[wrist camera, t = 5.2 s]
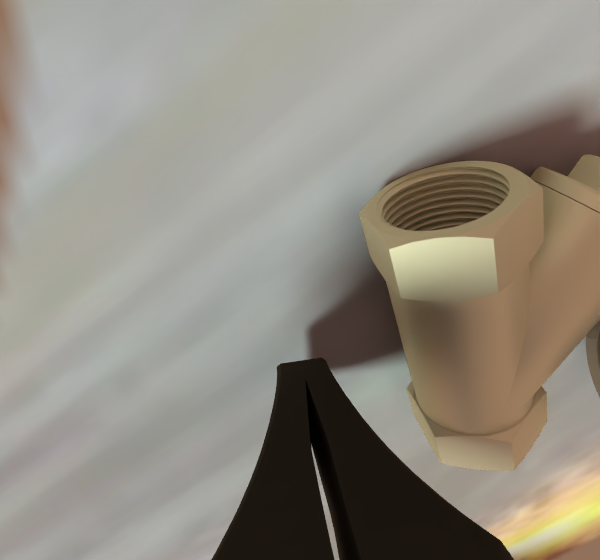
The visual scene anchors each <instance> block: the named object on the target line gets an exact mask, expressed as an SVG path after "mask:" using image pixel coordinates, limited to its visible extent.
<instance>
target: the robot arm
mask: <svg viewBox="0 0 600 560" xmlns="http://www.w3.org/2000/svg"><path fill="white" fill-rule="evenodd" d="M311 444H312V448H313V451H314V455H315V459H316V463H317V466H318V470H319V474H320V477H321V481H322V485H323V488H324V492H325V496H326V499H327V503H328V507H329V510H330V514H331V518H332V523H333V527H334V532H335V537H336V543H337V548H338V554H339V559H340V560H514V559H513V557H512V556H511V555H510V553H509V552H508V550H507V549H506V547H505V546H504V545H503V543H502V542H501V541H500V540H499V539H498V538H496V537H495V536H493V535H492V534H490V533H489V532H487V531H486V530H485V529H483V528H482V527H480V526H479V525H477V524H476V523H475V522H473V521H472V520H471V519H469V518H468V517H467V516H465V515H464V514H463V513H461V512H460V511H459V510H457V509H456V508H455V507H454V506H452V505H451V504H450V503H448V502H447V501H446V500H445V499H443V498H442V497H441V496H440V495H439V494H438V493H436V492H435V491H434V490H433V489H432V488H431V487H429V486H428V485H427V484H426V483H425V482H424V481H422V480H421V479H420V478H419V477H418V476H417V475H416V474H414V473H413V472H412V471H411V470H410V469H409V468H408V467H407V466H406V465H405V464H404V463H403V462H402V461H401V460H400V459H399V458H398V457H397V456H396V455H395V454H394V453H393V452H392V451H391V450H390V449H389V448H388V447H387V446H386V445H385V443H384V442H383V441H382V440H381V439H380V438H379V437H378V436H377V434H376V433H375V432H374V431H373V430H372V429H371V427H370V426H369V425H368V424H367V423H366V421H365V420H364V419H363V418H362V416H361V415H360V414H359V412H358V411H357V410H356V408H355V407H354V406H353V404H352V403H351V402H350V400H349V399H348V397H347V396H346V395H345V393H344V392H343V390H342V389H341V387H340V386H339V384H338V382H337V381H336V379H335V378H334V376H333V374H332V372H331V371H330V369H329V367H328V365H327V363H326V360H324V359H323V358H317V359H310V360H303V361H296V362H289V363H282V364H280V365H279V366H278V367H277V386H276V393H275V399H274V405H273V409H272V414H271V418H270V422H269V426H268V430H267V433H266V436H265V440H264V443H263V447H262V450H261V453H260V456H259V459H258V462H257V464H256V467H255V470H254V472H253V475H252V478H251V480H250V483H249V485H248V487H247V490H246V492H245V494H244V497H243V499H242V501H241V503H240V506H239V508H238V510H237V512H236V514H235V516H234V518H233V520H232V522H231V524H230V526H229V528H228V530H227V532H226V534H225V536H224V538H223V539H222V541H221V543H220V545H219V547H218V549H217V551H216V553H215V554H214V556H213V558H212V560H334V556H333V552H332V547H331V543H330V538H329V534H328V529H327V524H326V520H325V515H324V510H323V505H322V501H321V496H320V491H319V486H318V481H317V476H316V471H315V466H314V461H313V456H312V450H311Z"/></svg>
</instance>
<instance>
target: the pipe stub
mask: <svg viewBox="0 0 600 560" xmlns="http://www.w3.org/2000/svg"><path fill="white" fill-rule="evenodd" d="M586 352H587V360H588V365H589V369H590V373H591V376H592V380H593V383H594V385H595V387H596V390H597V392H598V394H599V396H600V320H599V321H598V322H597V323H596V325H595V326H594V327H593V328H592V329H591V330H590V331H589V332H588V334H587V335H586Z"/></svg>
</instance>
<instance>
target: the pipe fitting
mask: <svg viewBox="0 0 600 560" xmlns="http://www.w3.org/2000/svg"><path fill="white" fill-rule="evenodd" d="M359 217H360V220H361V224H362V228H363V231H364V235H365V239H366V242H367V246H368V250H369V253H370V257H371V259H372V261H373V262H374V264H375V265H376V267H377V269H378V270H379V272H380V273H381V275H382V276H383V278H384V279H385V281H386V283H387V287H388V291H389V295H390V298H391V302H392V306H393V310H394V314H395V318H396V321H397V325H398V329H399V333H400V337H401V341H402V344H403V348H404V352H405V356H406V360H407V364H408V367H409V371H410V375H411V379H412V381H411V383H410V384H409V386H408V387H407V392H408V395H409V399H410V402H411V406H412V410H413V413H414V416H415V417H416V419H417V421H418V423H419V425H420V427H421V429H422V431H423V433H424V435H425V436H426V438H427V440H428V442H429V444H430V445H431V447H432V449H433V451H434V452H435V454H436V456H437V457H438V459H439V460H440V462H441V463H442V464H447V465H452V466H456V467H462V468H469V469H476V470H493V471H504V470H515V469H516V468H517V466H518V465H519V464H520V463H521V461H522V460H523V459H524V457H525V456H526V455H527V453H528V452H529V450H530V449H531V447H532V446H533V444H534V443H535V441H536V439H537V438H538V436H539V434H540V433H541V431H542V429H543V427H544V425H545V423H546V422H547V395H546V391H545V390H544V389H543V387H542V385H543V383H544V382H545V381H546V380H547V379H548V378H549V377H550V376H551V374H552V373H553V372H554V371H555V370H556V369H557V368H558V366H559V365H560V364H561V363H562V362H563V361H564V360H565V359H566V357H567V356H568V355H569V354H570V353H571V352H572V351H573V349H574V348H575V347H576V346H577V345H578V344H579V343H580V342H581V340H582V339H583V338H584V337H585V336H586V335H587V334H588V332H589V331H590V330H591V329H592V328H593V327H594V326H595V325H596V323H597V322H598V321H599V320H600V157H598V156H595V155H583V156H582V157H581V158H580V160H579V161H578V162H577V164H576V165H575V166H574V168H573V169H572V171H571V172H570V173H569V175H568V176H564V175H562V174H560V173H557V172H555V171H552V170H550V169H547V168H544V167H538V168H537V169H536V170H535V171H534V173H533V174H532V176H531V177H528V176H527V175H525V174H524V173H522V172H520V171H519V170H517V169H515V168H513V167H511V166H508V165H505V164H502V163H497V162H489V161H461V162H452V163H445V164H440V165H436V166H432V167H428V168H425V169H421V170H418V171H415V172H413V173H410V174H408V175H405V176H403V177H401V178H399V179H397V180H395V181H393V182H392V183H390V184H388V185H387V186H386V187H384V188H383V189H382V190H380V191H379V192H378V193H377V194H376V195H375V196H374V197H373V198H372V199H371V200H370V201H369V202H368V203H367V204H366V205H365V207H364V208H363V209H362V210H361V211H360V213H359Z"/></svg>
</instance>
